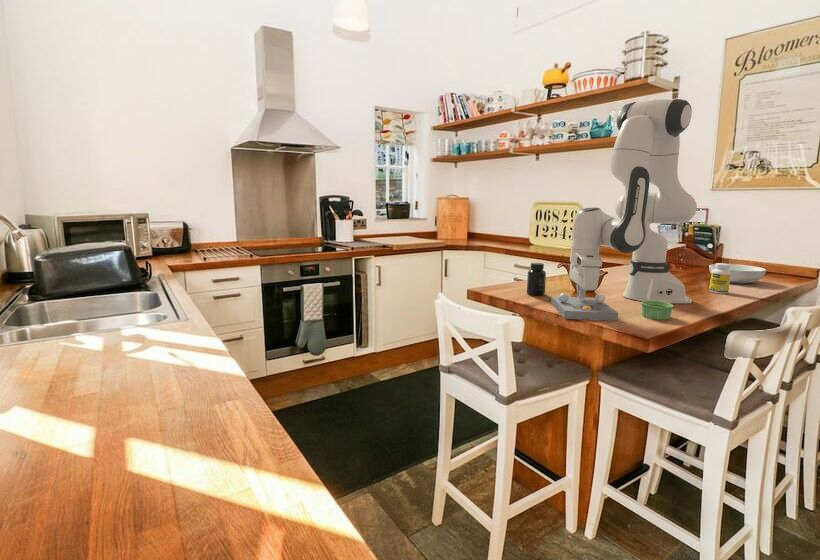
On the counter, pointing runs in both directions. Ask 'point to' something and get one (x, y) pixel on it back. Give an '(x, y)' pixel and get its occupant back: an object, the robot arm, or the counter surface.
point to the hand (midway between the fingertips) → (580, 297)
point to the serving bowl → (743, 273)
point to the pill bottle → (720, 279)
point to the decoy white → (599, 298)
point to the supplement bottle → (536, 280)
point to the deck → (575, 311)
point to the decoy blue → (563, 297)
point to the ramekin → (656, 310)
